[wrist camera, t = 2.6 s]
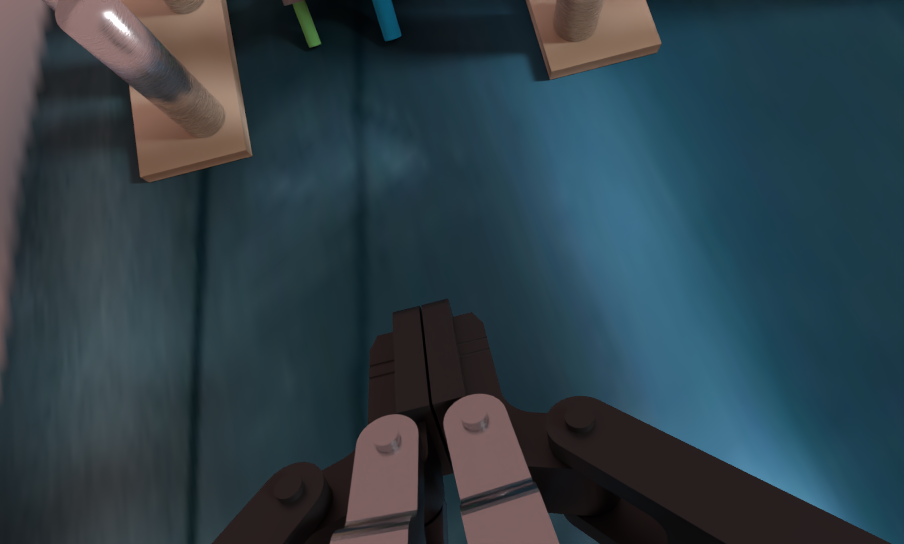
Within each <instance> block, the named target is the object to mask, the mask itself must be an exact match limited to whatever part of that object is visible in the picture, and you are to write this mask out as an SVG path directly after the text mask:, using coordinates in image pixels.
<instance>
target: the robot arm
mask: <svg viewBox="0 0 904 544" xmlns="http://www.w3.org/2000/svg"><path fill="white" fill-rule="evenodd" d="M369 366H370V369H369V379H370V381H369V406H368V426H367V427H366V428H365V429H364V430H363V431H362V433H361V434H360V436H359V438H358V440H357V444H356V449H355V450H354V451H353V452H352V453H351V454H350V455H348V456H347V457H346V458H344V459H342V460H341V461H339V462H337V463H335V464H333V465H331V466H330V467H328V468H326V469H324V470H322V471H321V470H320V469H319V468H318V467H317V466H316V465H314V464H312V463H307V462H299V463H294V464H291V465H289V466H287V467H284V468H283V469H281V470H279V471H278V472H277V473H275V474H274V475H273V476H272V477H271V478H270V479H269V480H268V481H267V482H266V483H265V485H264V486H263V487H262V488H261V489H260V490H259V491H258V492H257V494H256V495H255V496H254V497H253V498H252V499H251V500H250V501H249V503H248V504H247V505H246V506H245V507H244V508H243V509H242V510H241V511H240V513H239V514H238V515H237V516H236V517H235V518H234V519H233V520H232V522H231V523H230V524H229V525H228V526H227V527H226V528H225V529H224V531H223V532H222V533H221V534H220V535H219V536H218V537H217V538H216V540H215V541H214V542H213V543H212V544H448V518H447V504H446V501H445V498H444V497H445V495H444V484H443V476H444V475H448V474H452V473H453V470H454V474H455V478H456V483H457V487H458V491H459V496H460V500H461V505H460V510H461V515H462V520H463V524H464V529H465V533H466V538H467V542H468V544H559V541H558V539H557V536H556V533H555V531H554V528H553V526H552V523H551V520H550V518H549V515H548V513H558V514H564V516H565V517H566V519H567V520H568V521H569V522H570V523H571V524H573V525H574V526H575V527H577V528H578V529H580V530H581V531H583V532H584V533H585V534H587V535H588V536H590V537H591V538H593V539H594V540H595V541H597V542H598V543H600V544H891V543H889V542H887V541H885V540H883V539H881V538H879V537H877V536H875V535H872V534H870V533H868V532H866V531H864V530H862V529H860V528H858V527H856V526H854V525H852V524H850V523H848V522H846V521H844V520H842V519H840V518H838V517H836V516H834V515H832V514H830V513H828V512H826V511H824V510H822V509H820V508H818V507H815V506H813V505H811V504H809V503H807V502H805V501H803V500H801V499H799V498H797V497H795V496H793V495H791V494H789V493H787V492H785V491H783V490H781V489H779V488H777V487H775V486H773V485H771V484H769V483H767V482H765V481H763V480H761V479H758V478H756V477H754V476H752V475H750V474H748V473H746V472H744V471H742V470H740V469H738V468H736V467H734V466H732V465H730V464H728V463H726V462H724V461H722V460H720V459H718V458H716V457H714V456H712V455H710V454H708V453H706V452H704V451H701V450H699V449H697V448H695V447H693V446H691V445H689V444H687V443H685V442H683V441H681V440H679V439H677V438H675V437H673V436H671V435H669V434H667V433H665V432H663V431H661V430H659V429H657V428H655V427H653V426H651V425H649V424H647V423H644V422H642V421H640V420H638V419H636V418H634V417H632V416H630V415H628V414H626V413H624V412H622V411H620V410H618V409H616V408H614V407H612V406H610V405H608V404H606V403H604V402H602V401H600V400H597V399H595V398H591V397H586V396H575V397H569V398H566V399H564V400H561V401H560V402H558V403H556V404H555V405H554V406H553V407H552V408H551V409H550V411H549V412H548V413H532V412H526V411H522V410H519V409H517V408H515V407H513V406H511V405H510V404H509V403H508V402H507V401H506V400H505V399H504V397H503V396H502V393H501V390H500V386H499V382H498V378H497V375H496V371H495V367H494V363H493V359H492V356H491V352H490V348H489V344H488V341H487V337H486V333H485V329H484V325H483V322H482V321H480V320H479V319H478V318H477V317H476V316H475V315H474V314H473V313H472V312H471V313H467V314H463V315H459V316H455V317H453V313H452V310H451V306H450V303H449V300H448V299H445V300H441V301H437V302H433V303H429V304H425V305H422V310H421V307H420V306H417V307H413V308H409V309H405V310H401V311H397V312H393V332H391V333H387V334H383V335H379V336H377V338H376V340H375V342H374V344H373V346H372V348H371V349H370V362H369ZM452 465H453V468H452Z"/></svg>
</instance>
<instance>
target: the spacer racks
mask: <svg viewBox="0 0 904 544" xmlns="http://www.w3.org/2000/svg"><path fill="white" fill-rule="evenodd" d="M120 1H121V2H122V3H123V4H124V5H125V6H126V7H127V8H128V9H129V10H130V11H131V12H132V13H133V14H134V15H135V16H136V17H137V18H138V19H139V20H140V21H141V22H142V23H143V24H144V25H145V26H146V27H147V28H148V29H149V30H150V31H151V32H152V34H153V35H154V36H155V37H156V38H157V39H158V40H159V41H160V42H161V43H162V44H163V45H164V46H165V47H166V48H167V49H168V50H169V51H170V52H171V53H172V54H173V55H174V56H175V57H176V58H177V59H178V60H179V61H180V62H181V63H182V64H183V65H184V66H185V67H186V68H187V69H188V70H189V72H190V73H191V74H192V75H193V76H194V77H195V78H196V79H197V80H198V81H199V82H200V83H201V84H202V85H203V86H204V87H205V88H206V89H207V90H208V91H209V92H210V93H211V94H212V95H213V96H214V97H215V98H216V99H217V100H218V101H219V102H220V103H221V105H222V106H223V107H224V110H225V115H226V116H225V122H224V124H223V126H222V128H221V129H220V130H219V131H218V132H217V133H216V134H214V135H213V136H211V137H208V138H196V137H193V136H191V135H190V134H189V133H188V132H186V131H185V130H184V129H183V128H181V127H180V126H179V125H178V124H177V123H175V122H174V121H173V120H172V119H170V118H169V117H168V116H167V115H166V114H164V113H163V112H162V111H161V110H160V109H158V108H157V107H156V106H155V105H153V104H152V103H151V102H150V101H149V100H147V99H146V98H145V97H144V96H142V95H141V94H140V93H139V92H138V91H136V90H135V89H134V88H133V87H132V86H130V85H129V88H130V96H131V105H132V113H133V121H134V130H135V138H136V147H137V155H138V163H139V172H140V177H141V178H142V179H144V180H146V181H148V182H153V181H157V180H161V179H165V178H169V177H173V176H176V175H180V174H184V173H188V172H192V171H196V170H200V169H204V168H208V167H212V166H215V165H219V164H223V163H227V162H231V161H235V160H239V159H243V158H247V157H251V156H252V151H251V145H250V139H249V133H248V127H247V121H246V115H245V109H244V103H243V97H242V91H241V85H240V79H239V74H238V68H237V62H236V56H235V50H234V44H233V38H232V32H231V26H230V20H229V14H228V8H227V3H226V0H205V1H204V3H203V4H202V6H201V7H200V8H199V9H197V10H196V11H194V12H192V13H190V14H184V15H183V14H177V13H174V12H173V11H171V10H170V9H169V7H168V6H167V5H166V4H165V3H164V2H163V0H120ZM526 3H527V7H528V10H529V13H530V16H531V20H532V23H533V26H534V29H535V33H536V36H537V39H538V42H539V46H540V49H541V52H542V55H543V59H544V62H545V65H546V68H547V72H548V75H549V78H550V80H551V79H555V78H559V77H563V76H567V75H571V74H575V73H579V72H583V71H587V70H591V69H594V68H598V67H602V66H606V65H610V64H614V63H618V62H622V61H626V60H630V59H634V58H637V57H641V56H645V55H649V54H653V53H657V51H658V49H659V47H660V45H661V41H660V38H659V35H658V33H657V30H656V27H655V24H654V22H653V19H652V16H651V13H650V11H649V8H648V5H647V2H646V0H605V1H604V4H603V8H602V11H601V15H600V18H599V22H598V25H597V28H596V30H595V32H594V34H593V35H592V36H591V37H589V38H588V39H586V40H584V41H581V42H569V41H566V40H564V39H562V38H560V37H559V36H558V35H557V34H556V32H555V30H554V28H553V17H554V11H555V5H556V0H526Z"/></svg>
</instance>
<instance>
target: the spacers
mask: <svg viewBox="0 0 904 544" xmlns="http://www.w3.org/2000/svg"><path fill="white" fill-rule="evenodd" d="M42 1H44V2H45V3H46V4H47V5H48V6H50V7H51V8H52V9H53V10H54V11H55V18H56V21H57V24H58V25H59V27H60V28H61V29H62V30H63V31H64V32H66V33H67V34H68V35H69V36H71V37H72V38H73V39H74V40H75V41H77V42H78V43H79V44H80V45H82V46H83V47H84V48H85V49H86V50H88V51H89V52H90V53H91V54H93V55H94V56H95V57H96V58H97V59H99V60H100V61H101V62H102V63H103V64H105V65H106V66H107V67H108V68H110V69H111V70H112V71H113V72H114V73H116V74H117V75H118V76H119V77H121V78H122V79H123V80H124V81H125V82H127V83H128V84H129V85H130V86H132V87H133V88H134V89H135V90H136V91H138V92H139V93H140V94H141V95H142V96H144V97H145V98H146V99H147V100H149V101H150V102H151V103H152V104H153V105H155V106H156V107H157V108H158V109H160V110H161V111H162V112H163V113H164V114H166V115H167V116H168V117H169V118H170V119H172V120H173V121H174V122H175V123H177V124H178V125H179V126H180V127H181V128H183V129H184V130H185V131H186V132H188V133H189V134H190V135H191V136H193V137H196V138H208V137H211V136H213V135H214V134H216V133H217V132H218V131H219V130H220V129H221V128H222V126H223V124H224V122H225V116H226V115H225V110H224V107H223V106H222V105H221V103H220V102H219V101H218V100H217V99H216V98H215V97H214V96H213V95H212V94H211V93H210V92H209V91H208V90H207V89H206V88H205V87H204V86H203V85H202V84H201V83H200V82H199V81H198V80H197V79H196V78H195V77H194V76H193V75H192V74H191V73H190V72H189V70H188V69H187V68H186V67H185V66H184V65H183V64H182V63H181V62H180V61H179V60H178V59H177V58H176V57H175V56H174V55H173V54H172V53H171V52H170V51H169V50H168V49H167V48H166V47H165V46H164V45H163V44H162V43H161V42H160V41H159V40H158V39H157V38H156V37H155V36H154V35H153V34H152V32H151V31H150V30H149V29H148V28H147V27H146V26H145V25H144V24H143V23H142V22H141V21H140V20H139V19H138V18H137V17H136V16H135V15H134V14H133V13H132V12H131V11H130V10H129V9H128V8H127V7H126V6H125V5H124V4H123V3H122V2H121V1H120V0H42ZM204 1H205V0H163V2H164V3H165V4H166V5H167V6H168V7H169V9H170V10H171V11H173V12H174V13H177V14H183V15H184V14H190V13H192V12H194V11H196V10H197V9H199V8H200V7H201V6H202V4H203V3H204ZM604 1H605V0H556V5H555V11H554V17H553V28H554V30H555V32H556V34H557V35H558V36H559V37H560V38H562V39H564V40H566V41H569V42H581V41H584V40H586V39H588V38H589V37H591V36H592V35H593V34H594V32H595V30H596V28H597V25H598V22H599V18H600V15H601V11H602V8H603V4H604Z"/></svg>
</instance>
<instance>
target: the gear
mask: <svg viewBox="0 0 904 544" xmlns="http://www.w3.org/2000/svg"><path fill="white" fill-rule="evenodd" d="M282 2H283V4H284V6H286V5H290V4H292V5H293V7H294V10H295V12H296V15H297V18H298V20H299V23H300V25H301V28H302V31H303V33H304V36H305V38H306V41H307V43H308V46H309V48H310V47H314V46H317V45H320V44H321V42H320V39H319V36H318V34H317V31H316V28H315V26H314V23H313V20H312V18H311V15H310V12H309V10H308V7H307V4H306V1H305V0H282ZM372 2H373V5H374V8H375V12H376V15H377V18H378V21H379V24H380V28H381V31H382V34H383V37H384V40H385V41H389V40H393V39H396V38H399V37H401V36H402V35H401V31H400V28H399V24H398V21H397V18H396V14H395V11H394V7H393V4H392V1H391V0H372Z"/></svg>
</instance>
